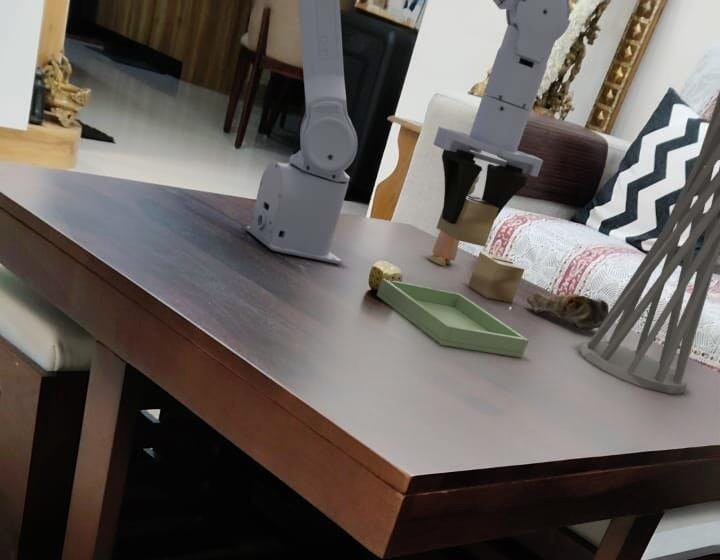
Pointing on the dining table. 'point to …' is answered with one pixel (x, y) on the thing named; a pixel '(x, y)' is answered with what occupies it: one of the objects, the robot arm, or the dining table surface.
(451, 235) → the wooden h block
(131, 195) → the dining table surface
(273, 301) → the dining table surface
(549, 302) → the rock
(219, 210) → the dining table surface
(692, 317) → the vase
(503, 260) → the wooden i block
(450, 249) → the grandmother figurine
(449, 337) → the tray
